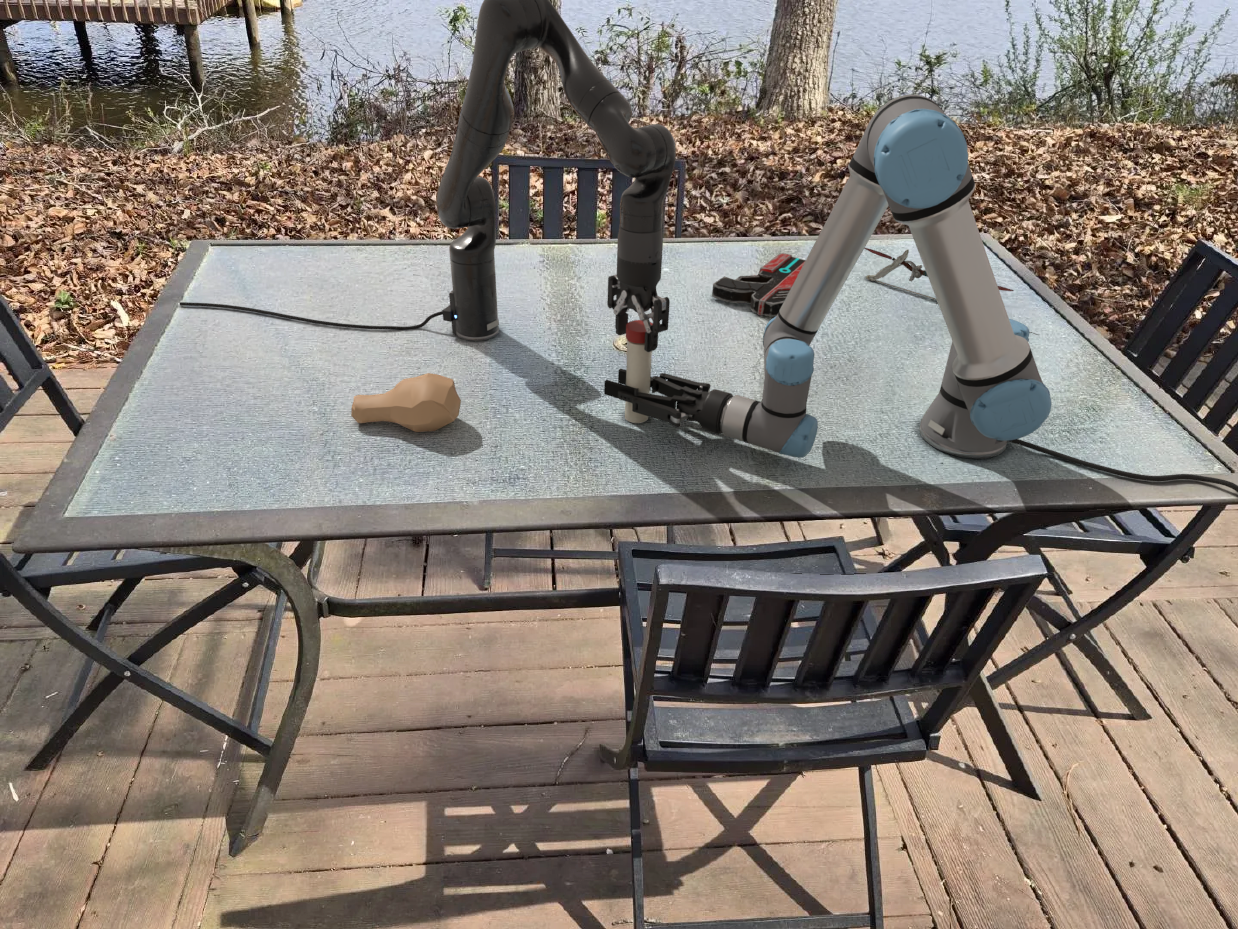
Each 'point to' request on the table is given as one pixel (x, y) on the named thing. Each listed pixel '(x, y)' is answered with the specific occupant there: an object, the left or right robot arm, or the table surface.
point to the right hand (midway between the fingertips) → (612, 381)
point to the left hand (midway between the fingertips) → (635, 341)
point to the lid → (636, 331)
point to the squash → (412, 404)
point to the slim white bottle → (637, 376)
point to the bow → (901, 261)
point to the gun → (762, 285)
